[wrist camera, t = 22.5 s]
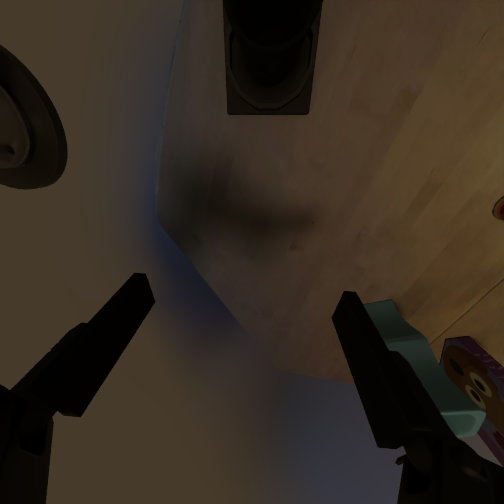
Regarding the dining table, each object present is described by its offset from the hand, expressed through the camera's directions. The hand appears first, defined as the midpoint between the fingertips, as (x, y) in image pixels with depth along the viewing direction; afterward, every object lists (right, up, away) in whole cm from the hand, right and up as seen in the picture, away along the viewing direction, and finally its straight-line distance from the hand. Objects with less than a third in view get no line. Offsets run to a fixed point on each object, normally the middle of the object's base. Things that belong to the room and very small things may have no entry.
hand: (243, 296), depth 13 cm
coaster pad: (+3, +28, +12) cm, 31 cm away
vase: (+29, -12, +31) cm, 44 cm away
